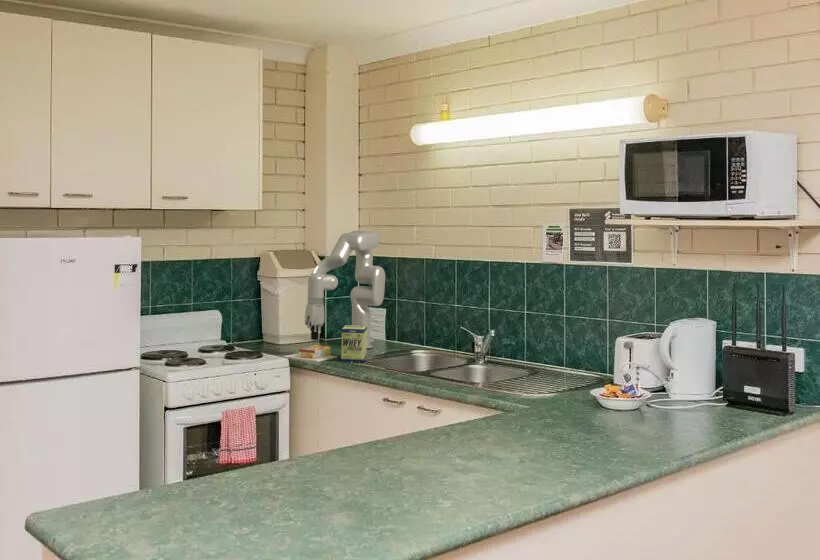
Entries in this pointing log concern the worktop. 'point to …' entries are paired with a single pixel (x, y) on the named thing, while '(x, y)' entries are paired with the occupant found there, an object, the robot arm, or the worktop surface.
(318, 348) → the candy box
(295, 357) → the mat
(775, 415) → the worktop surface
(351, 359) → the protein box
